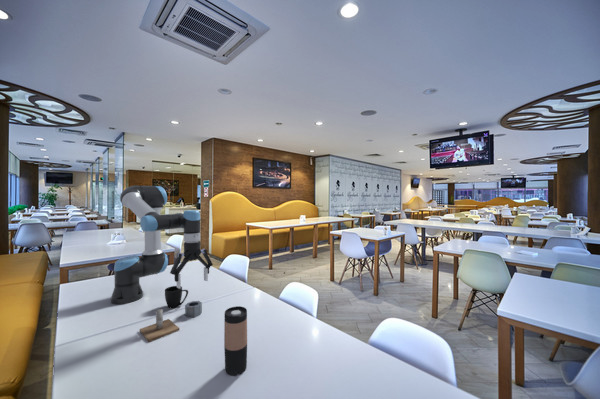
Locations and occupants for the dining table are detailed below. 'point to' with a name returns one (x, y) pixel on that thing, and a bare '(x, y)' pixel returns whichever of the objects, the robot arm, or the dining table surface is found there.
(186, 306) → the ring
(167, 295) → the mug
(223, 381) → the dining table surface
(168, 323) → the shaft stand
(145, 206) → the robot arm
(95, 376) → the dining table surface
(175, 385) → the dining table surface
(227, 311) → the travel mug
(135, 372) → the dining table surface
